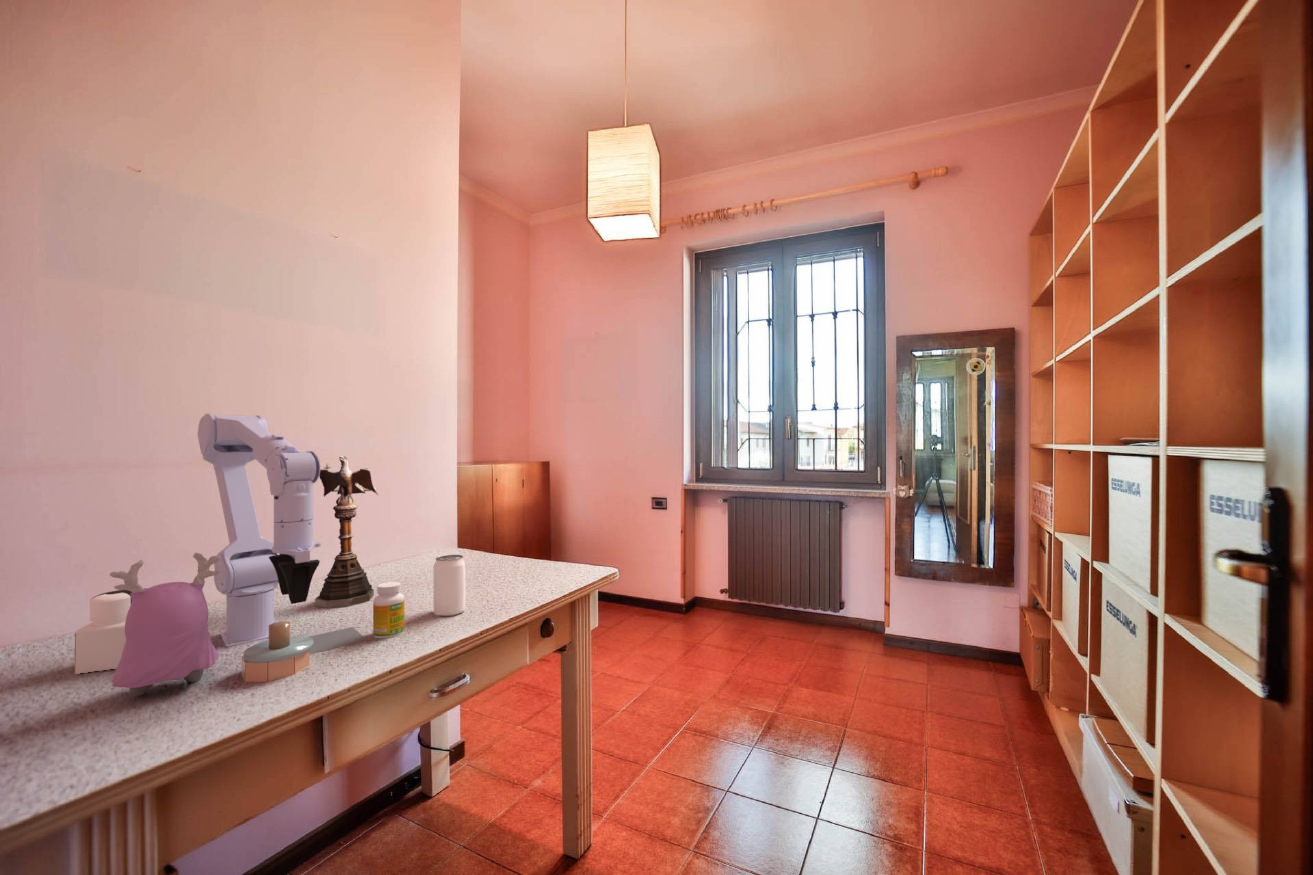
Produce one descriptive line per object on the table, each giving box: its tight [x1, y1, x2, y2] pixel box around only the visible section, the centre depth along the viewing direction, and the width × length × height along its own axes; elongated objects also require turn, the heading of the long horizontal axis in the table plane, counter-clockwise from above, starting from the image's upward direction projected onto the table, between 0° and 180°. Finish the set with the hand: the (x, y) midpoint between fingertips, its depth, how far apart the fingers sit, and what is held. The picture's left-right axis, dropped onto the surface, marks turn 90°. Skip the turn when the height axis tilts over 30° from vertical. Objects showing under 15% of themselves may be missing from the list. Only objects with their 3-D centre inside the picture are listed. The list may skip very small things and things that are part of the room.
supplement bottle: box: [372, 581, 406, 639], centre depth 100 cm, size 5×5×10 cm
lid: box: [242, 620, 313, 663], centre depth 85 cm, size 9×9×4 cm
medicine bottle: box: [74, 589, 132, 675], centre depth 88 cm, size 7×7×12 cm
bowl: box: [241, 651, 310, 683], centre depth 84 cm, size 8×8×3 cm
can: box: [432, 554, 466, 618], centre depth 114 cm, size 6×6×12 cm
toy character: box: [109, 552, 220, 698], centre depth 79 cm, size 12×10×20 cm
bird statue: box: [314, 455, 379, 609], centre depth 126 cm, size 17×13×35 cm
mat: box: [309, 626, 368, 656], centre depth 97 cm, size 10×10×1 cm
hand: (293, 597), depth 91 cm, fingers open, 7 cm apart
